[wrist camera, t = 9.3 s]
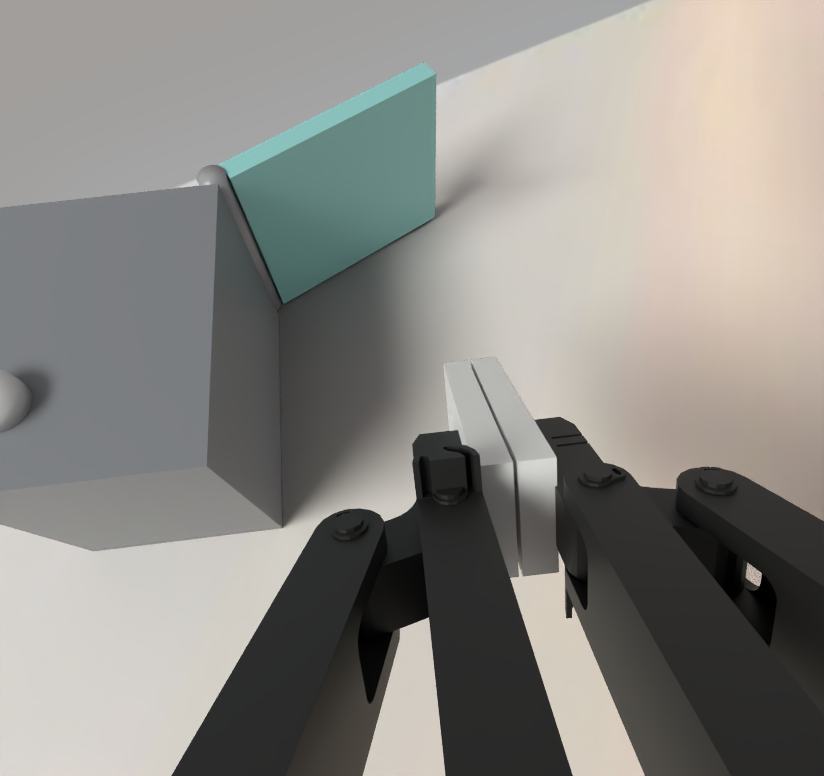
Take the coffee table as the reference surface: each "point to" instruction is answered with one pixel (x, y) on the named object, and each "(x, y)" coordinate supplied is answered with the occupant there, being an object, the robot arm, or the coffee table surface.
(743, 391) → the coffee table surface
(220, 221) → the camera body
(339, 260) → the side door
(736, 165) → the coffee table surface
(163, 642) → the coffee table surface
